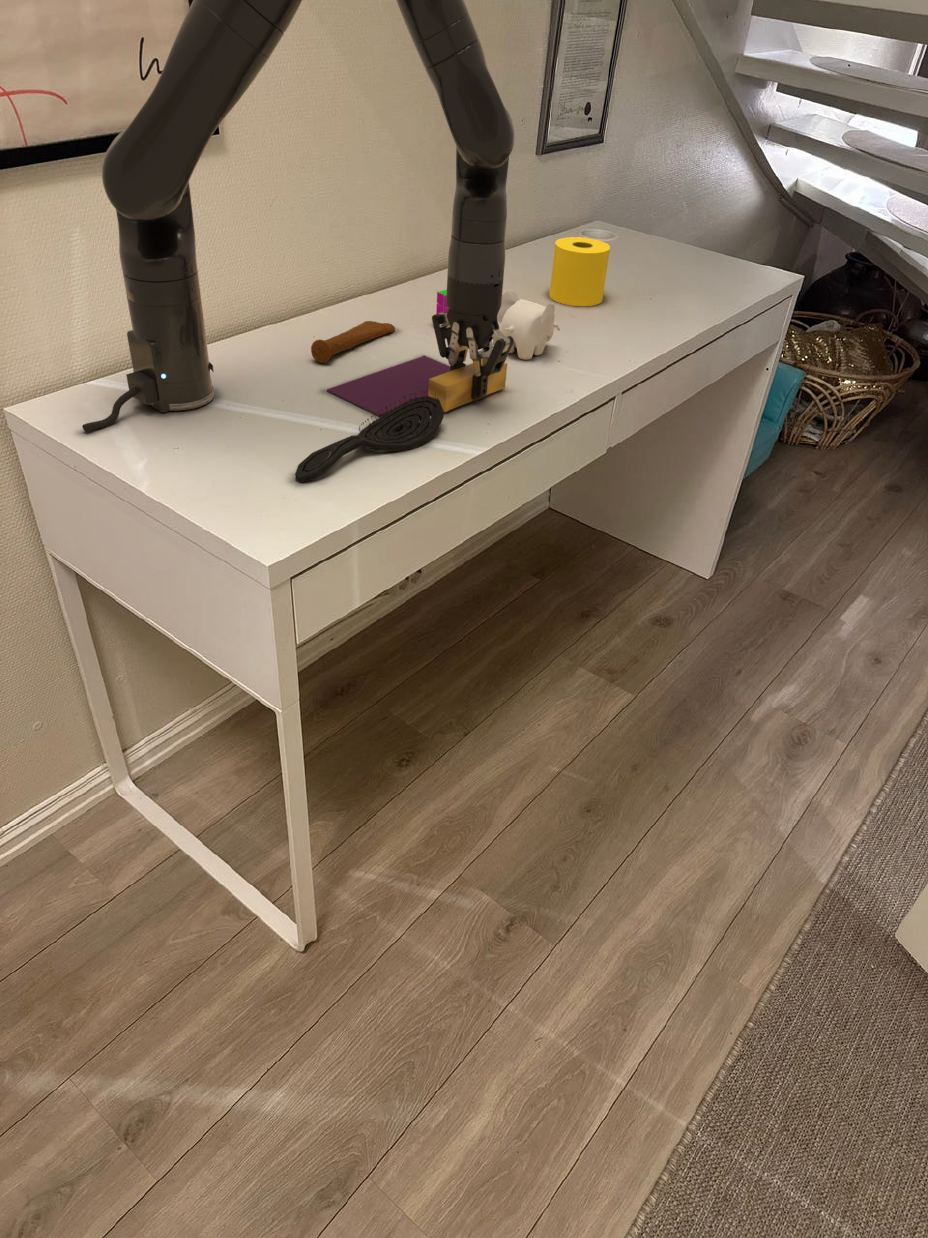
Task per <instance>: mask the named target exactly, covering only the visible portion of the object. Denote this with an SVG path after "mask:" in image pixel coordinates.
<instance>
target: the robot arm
mask: <svg viewBox="0 0 928 1238" xmlns="http://www.w3.org/2000/svg"><path fill="white" fill-rule="evenodd" d="M302 2H303V0H192V2H191V4H190V6H189V8H188V10H187V12H186V14H185V16H184V18H183V20H182V22H181V24H180V27H179V29H178V31H177V34H176V36H175V38H174V41H173V43H172V45H171V48H170V51H169V53H168V55H167V58H166V61H165V64H164V66H163V68H162V71H161V73H160V76H159V77H158V80H157V82H156V84H155V86H154V88H153V89H152V91H151V93H150V95H149V96H148V98H147V99H146V101H145V102H144V104H143V105H142V107H141V108H140V109H139V111H138V112H137V114H136V115H135V117H134V118H132V121H131V122H130V123H129V125H128V126H127V127H126V129H124V130H123V131H121V132H119V133H118V135H116V137H114V139H113V140H112V142H111V144H110V145H109V147H108V148H107V150H106V152H105V154H104V157H103V159H102V164H101V179H102V186H103V189H104V192H105V194H106V197H107V199H108V200H109V202H110V204H111V205H112V207H113V208H114V209H115V212H116V218H117V229H118V243H119V244H118V248H119V249H118V253H119V254H118V255H119V260H120V266H121V272H122V278H123V283H124V289H125V295H126V300H127V306H128V311H129V318H130V322H131V323H130V324H131V329H130V330H128V331H127V332H126V337H127V338H126V339H127V342H128V343H127V344H128V348H129V354H130V359H131V365H132V372H129V373H126V374H125V376H126V381H127V387H128V390H127V391H126V392H124V393H123V394H122V395H120V396H119V397H118V398H117V399H116V401H115V402H114V403H113V406H112V409H111V413H110V414H109V415H108V416H107V417H106V418H104V419H101V420H97V421H91V422H87V423H83V424H82V426H81V427H82V430H83V431H84V432H86V433H87V432H91V431H94V430H99V429H104V428H107V427H109V426H110V425H112V424H113V423H115V422H116V421H117V420H118V419H119V416H120V411H121V409H122V407H123V405H125V404H126V403H127V402H128V401H129V400H131V399H132V398H134V399H135V400H137V401H139V402H141V403H142V404H144V405H146V406H147V405H148V406H149V407H151V408H153V409H155V410H157V411H159V412H160V413H162V414H163V413H167V412H172V411H173V412H174V411H175V412H177V411H178V412H179V411H187V410H194V409H197V408H200V407H202V406H205V405H207V404H208V403H210V402H211V401H212V400H213V398H214V396H215V391H214V386H213V380H212V376H211V372H212V373H214V372H215V371H214V365H213V364H212V363H211V362H210V360H209V359H210V358H209V351H208V350H209V349H208V343H207V342H208V341H207V334H206V328H205V327H206V326H205V319H204V311H203V310H204V309H203V303H202V302H203V301H202V294H201V285H200V277H199V271H198V262H197V249H196V248H197V245H196V231H195V223H194V214H193V205H192V197H191V196H192V195H191V188H190V179H191V178H192V175H193V173H194V171H195V168H197V165H198V162H199V161H200V159H201V157H202V155H203V153H204V151H205V149H206V147H207V145H208V144H209V142H210V139H211V138H212V136H214V134H215V131H216V130H217V129H218V128H219V126H220V124H221V123H222V122H223V121H224V120H225V118H226V117H227V116H228V115H229V113H230V112H231V111H232V110H233V108H234V107H235V106H237V105H236V104H237V103H238V102H239V101H240V99H241V98H243V95H245V93H246V92H247V90H248V89H249V88H250V86H251V85H252V84H253V82H254V80H255V79H256V78H257V76H258V75H259V73H260V72H261V71H262V70H263V68H264V66H265V65H266V64H267V63H268V60H269V59H270V57H271V56H272V55H273V53H274V51H275V49H276V48H277V46H278V45H279V43H280V42H281V40H282V38H283V36H284V35H285V33H286V32H287V31H288V28H289V27H290V25H291V23H292V21H293V19H294V18H295V16H296V13H297V12H298V10H299V8H300V6H301V4H302ZM396 3H397V6H398V8H399V12H400V13H401V17H402V19H403V21H404V24H405V26H406V29H407V32H408V34H409V36H410V38H411V40H412V43H413V45H414V48H415V50H416V52H417V55H418V57H419V59H420V62H421V64H422V66H423V68H424V70H425V73H426V75H427V77H428V80H430V82H431V85H432V87H433V88H434V90H435V92H436V94H437V97H438V100H439V103H440V106H441V109H442V111H443V115H444V117H445V120H446V123H447V127H448V128H449V132H450V134H451V137H452V139H453V141H454V142H453V143H454V144H455V146H456V147H455V148H456V149H455V191H454V195H453V196H454V197H453V203H452V211H451V213H452V214H451V230H450V231H451V232H450V233H451V235H450V242H449V247H448V257H447V274H446V275H447V276H446V278H447V280H446V290H447V296H446V304H447V306H448V307H449V309H448V311H445V312H442V313H439V314H436V313H435V314H433V315H432V316H431V321H432V325H433V330H434V334H435V335H434V336H435V339H436V344H437V348H438V353H439V356H440V357H441V358H445V359H446V360H447V362H448V365H449V366H450V371H452V370H455V369H458V368H460V367H463V366H466V365H467V364H466V363H465V362H466V361H467V360H466V359H467V356H468V353H469V359H470V360H472V363H473V370H474V375H473V376H472V377H473V379H472V394H471V398H472V399H473V401H479V400H482V399H484V397H485V395H486V393H487V385H488V376H490V375H492V374H494V373H498V372H500V371H501V369H502V367H503V365H504V363H506V360H507V358H508V356H509V354H510V353H509V352H510V350H511V347H512V345H513V343H514V340H513V338H512V337H511V336H508V337H505V336H504V335H503V334H502V333H501V332H500V331H499V327H500V323H499V321H498V320H497V315H498V312H499V310H500V308H501V302H502V294H503V289H504V278H505V264H506V232H507V231H506V230H507V219H508V217H507V216H508V196H507V181H508V173H509V164H510V163H509V162H510V156H511V154H512V152H513V149H514V145H515V139H516V138H515V129H514V128H515V127H514V125H513V119H512V117H511V115H510V113H509V110H508V109H507V108H506V107H505V105H504V103H503V101H502V98H501V95H500V93H499V91H498V89H497V86H496V84H495V82H494V80H493V78H492V75H491V73H490V71H489V69H488V65H487V60H486V57H485V56H486V55H485V53H484V50H483V49H484V48H483V46H482V43H481V40H480V38H479V35H478V33H477V29H476V27H475V25H474V23H473V20H472V17H471V15H470V12H469V10H468V7H467V5H466V3H465V0H396ZM446 343H447V344H446ZM481 360H482V363H483V365H482V364H481ZM486 396H487V395H486Z"/></svg>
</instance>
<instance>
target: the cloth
mask: <svg viewBox="0 0 928 1238" xmlns="http://www.w3.org/2000/svg"><path fill="white" fill-rule="evenodd" d="M449 371H450V365H449V364H445V363H443V362H440V361H438V360H436V359H433V358H431V357H428V356H426V355H422V356H420V357H419V356H418V357H416V358H413V359H411V360H408V361H404V362H402V363H398V364H396V365H394V366H390V367H388V368H385V369H381V370H378V371H376V372H373V373H369V374H368V375H364V376H361V377H358V378H355V379H352V380H350V381H347V382H344V383H341V384H338V385H335V386H333V387H330V388H327V389H326V391H327V393H330V394H332V395H334V396H336V397H338V398H340V399H342V400H344V401H345V402H348V403H350V404H352V405H354V406H357V408H360V409H362V410H365V411H366V412H369V413H370V414H373V415H374V414H375V415H374V416H377V417H381V416H383V414H384V415H385V414H386V412H389V411H391V409H394V408H395V407H398V406H400V405H399V404H400V403H401V405H402V403H405V402H407V401H409V400H410V399H414V398H415V397H416V398H419V397H424V396H427V395H428V389H429V379H430V378H433V377H436V376H438V375H441V374H444V373H447V372H449ZM421 391H422V392H421ZM426 391H427V393H426ZM413 393H414V394H413ZM415 393H416V394H415ZM424 393H425V394H424ZM410 394H411V395H410ZM422 395H423V396H422ZM403 396H405V397H403ZM414 396H415V397H414ZM405 399H406V400H405ZM399 400H400V401H399ZM394 402H395V403H394ZM390 404H391V406H390ZM386 406H387V407H386ZM386 408H387V410H386ZM381 409H382V410H381ZM379 411H380V413H378V412H379ZM380 415H381V416H380Z"/></svg>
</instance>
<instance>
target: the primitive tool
mask: <svg viewBox="0 0 928 1238" xmlns="http://www.w3.org/2000/svg"><path fill="white" fill-rule="evenodd" d="M395 330H396V326H394V324H392V323H389V322H377V321H372V320H365V321H363V322H362V323H360V324H358V325H356V326H354V327H352V328H350V329H348V330H346V331H344V332H341V333H339V334H338V335H335V336H332V337H329V338H327V339H325V340H324V339H315V340H314V341H313V342H312V344H311V347H310V353H311V356H312V358H313V359H314V360H315V361H316V362H317V363H319V364H325V363H327V362H329V360H330V359H331V358H332V356H334V355H337V354H339V353H341V352H344V351H346V350H349V351H350V350H352V349H353V348H354V347H355V346H358V345H360V344H362V343H365V342H368V341H370V340H374V339H376V338H378V337H381V336H384V335H387V334H391V333H393V332H394V331H395Z"/></svg>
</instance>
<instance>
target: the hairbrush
mask: <svg viewBox="0 0 928 1238" xmlns="http://www.w3.org/2000/svg"><path fill="white" fill-rule="evenodd" d="M421 392H422V391H421ZM426 393H427V391H426ZM413 394H414V393H413ZM415 394H416V393H415ZM424 394H425V393H424ZM431 394H433V393H431ZM410 395H411V394H410ZM422 396H423V395H422ZM403 397H405V396H403ZM414 397H415V396H414ZM433 397H434V396H433ZM433 397H430V396H428V395H427V396H424V397H419V398H416V397H415V398H414V399H410V400H409V401H407V402H405V403H402V405H401V403H400V404H399V405H400V406H398V407H395V408H394V409H391V411H389V412H386V414H383V415H382V416H381V415H380V416H379V417H378V418H377V417H376V415H375V414H373V415H372V416H370V418H371V422H370V421H369V420H370V419H369V418H366V420H364V421H362V423H360V425H358V426H359V427H358V431H359V433H358V434H356V435H350V436H347V437H345V438H342V439H340V440H337V441H334V442H332V443H331V444H328V445H326V446H324V447H322V448H320V449H317V450H315V451H313V452H312V453H310V454H309V455H308V456H307V457H305V458H304V459H303V460H302V461H301V462H300V463H298V465H297V467H296V470H295V473H294V477H295V481H297V482H299V483H306V482H309V481H312V480H315V479H317V478H319V477H320V476H322V475H323V474H324V473H326V472H327V471H329V470H330V469H331V468H332V467H333V466H334V465H335V464H336V463H338V461H339V460H341V459H342V458H343V457H344V456H345V455H348V454H349V453H351V452H353V451H355V450H357V449H359V448H361V447H364V448H369V449H373V450H379V451H388V452H400V451H407V450H413V449H415V448H417V447H421V446H422V445H424V444H426V443H427V442H428V441H429V440H430V439H432V438H433V437H434V436H435V435H436V434H437V433H438V430H439V428H440V426H441V424H442V422H443V420H444V415H445V414H444V413H445V412H444V411H443V409H442V406H441V403H440V401H439V400H438V397H437V399H436V398H433ZM435 397H436V395H435ZM405 400H406V399H405ZM399 401H400V400H399ZM394 403H395V402H394ZM390 406H391V404H390ZM386 407H387V406H386ZM381 410H382V409H381ZM386 410H387V408H386ZM378 413H380V411H379V412H378ZM372 418H373V419H372ZM364 422H365V423H364ZM364 424H365V425H366V426H364V428H363V427H361V426H363V425H364ZM367 424H368V425H367ZM361 428H362V429H361Z"/></svg>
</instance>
